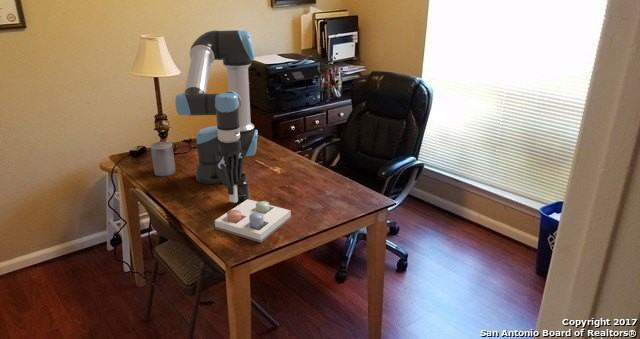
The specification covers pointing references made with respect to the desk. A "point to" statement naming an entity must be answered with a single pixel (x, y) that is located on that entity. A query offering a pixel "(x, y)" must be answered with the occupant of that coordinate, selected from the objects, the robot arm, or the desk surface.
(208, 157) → the robot arm
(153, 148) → the pillar candle
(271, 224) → the console
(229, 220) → the terracotta button
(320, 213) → the desk surface
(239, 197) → the supplement bottle
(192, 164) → the desk surface
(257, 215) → the slate button
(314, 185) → the desk surface
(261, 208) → the sage button
